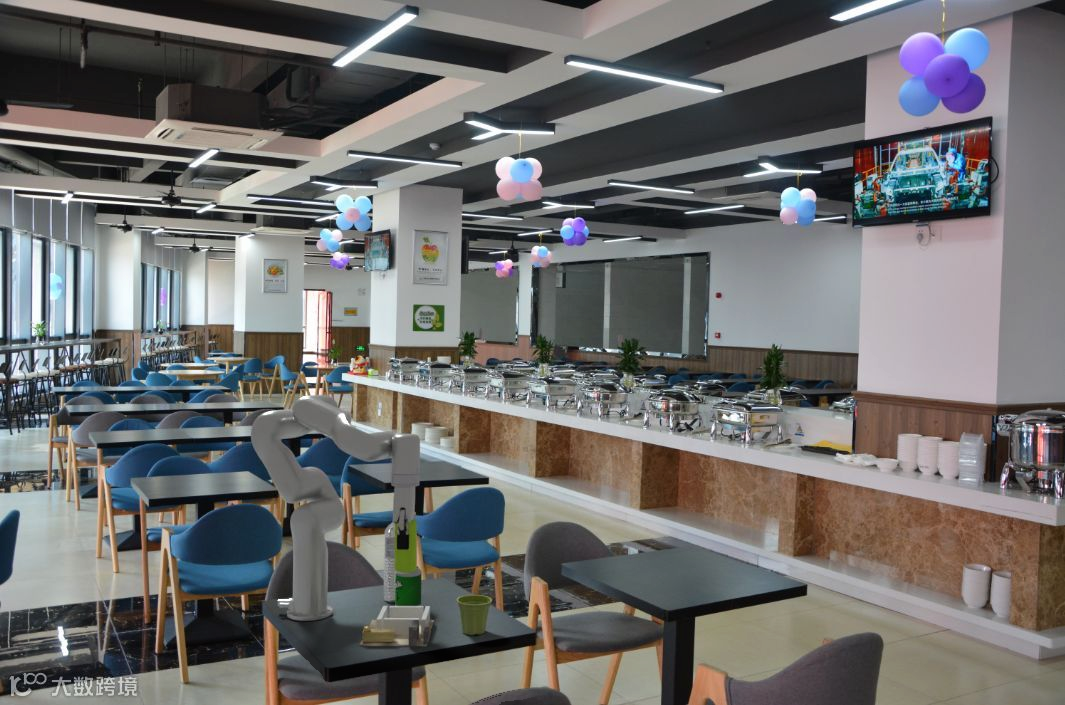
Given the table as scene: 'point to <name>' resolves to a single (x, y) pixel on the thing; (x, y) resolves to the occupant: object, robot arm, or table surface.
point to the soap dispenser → (407, 558)
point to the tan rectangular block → (378, 635)
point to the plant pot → (474, 613)
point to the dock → (403, 618)
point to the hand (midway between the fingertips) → (404, 545)
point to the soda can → (408, 588)
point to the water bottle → (389, 564)
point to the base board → (405, 636)
